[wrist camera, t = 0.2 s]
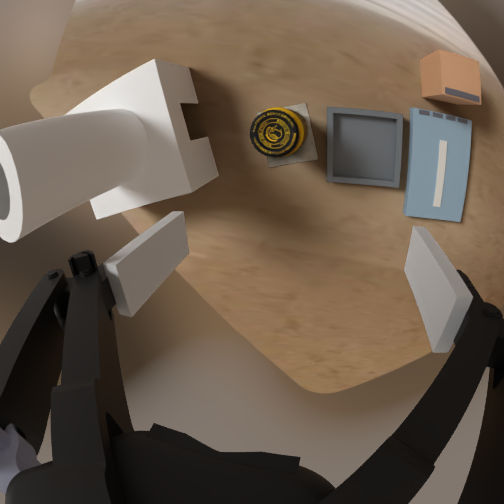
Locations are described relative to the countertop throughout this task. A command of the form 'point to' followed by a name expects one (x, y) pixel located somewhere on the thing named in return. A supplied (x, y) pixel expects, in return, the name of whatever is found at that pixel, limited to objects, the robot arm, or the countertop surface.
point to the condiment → (284, 135)
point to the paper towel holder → (104, 152)
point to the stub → (451, 78)
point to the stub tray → (364, 146)
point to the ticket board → (437, 165)
